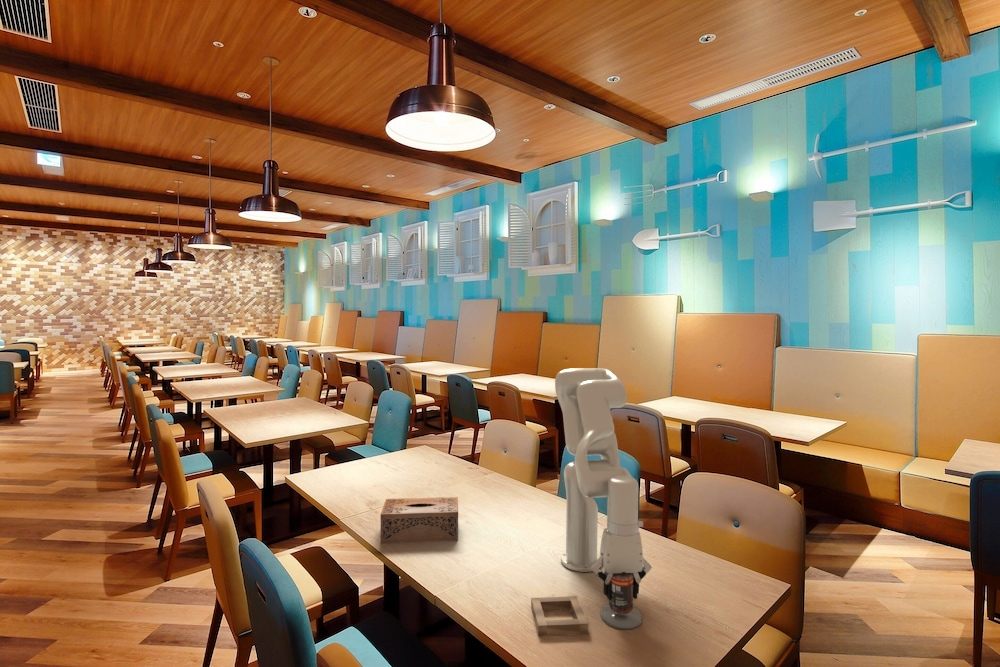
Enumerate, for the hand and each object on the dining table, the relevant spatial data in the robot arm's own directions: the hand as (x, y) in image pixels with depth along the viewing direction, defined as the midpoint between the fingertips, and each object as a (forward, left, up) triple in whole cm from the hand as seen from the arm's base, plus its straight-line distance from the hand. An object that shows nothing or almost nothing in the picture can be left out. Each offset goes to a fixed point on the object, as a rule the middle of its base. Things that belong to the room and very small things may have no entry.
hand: (620, 595), depth 128 cm
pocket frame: (0, -16, -5) cm, 17 cm away
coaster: (0, 0, -5) cm, 5 cm away
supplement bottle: (0, 0, -3) cm, 3 cm away
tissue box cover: (-54, -54, -6) cm, 76 cm away
